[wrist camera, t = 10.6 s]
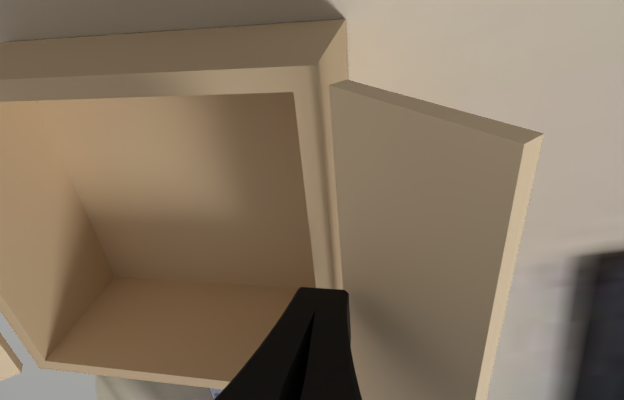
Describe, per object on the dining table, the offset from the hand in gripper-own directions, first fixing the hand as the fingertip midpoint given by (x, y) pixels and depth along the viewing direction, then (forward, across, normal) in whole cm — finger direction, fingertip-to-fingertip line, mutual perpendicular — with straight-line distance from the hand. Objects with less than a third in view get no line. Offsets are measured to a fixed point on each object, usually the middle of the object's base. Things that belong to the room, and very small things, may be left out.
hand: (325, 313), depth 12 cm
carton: (+7, +7, 0) cm, 10 cm away
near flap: (-1, -2, 0) cm, 2 cm away
